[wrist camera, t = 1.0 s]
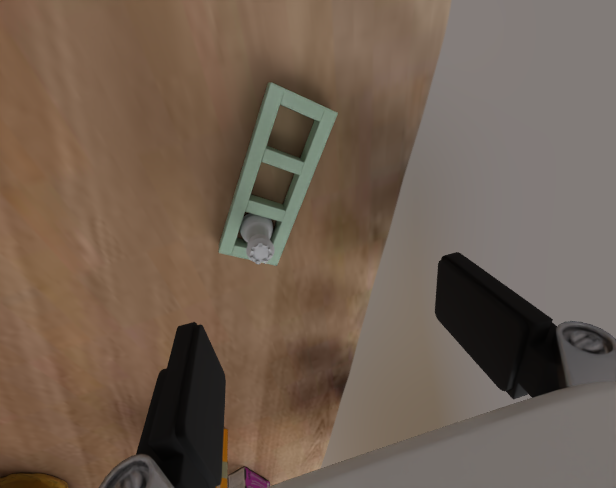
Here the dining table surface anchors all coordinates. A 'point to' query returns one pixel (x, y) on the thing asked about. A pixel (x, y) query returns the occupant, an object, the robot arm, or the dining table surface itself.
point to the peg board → (279, 159)
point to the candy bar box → (246, 479)
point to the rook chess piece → (257, 237)
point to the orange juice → (224, 461)
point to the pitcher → (31, 481)
